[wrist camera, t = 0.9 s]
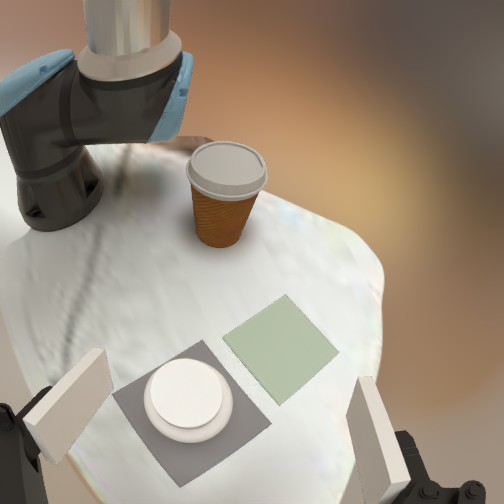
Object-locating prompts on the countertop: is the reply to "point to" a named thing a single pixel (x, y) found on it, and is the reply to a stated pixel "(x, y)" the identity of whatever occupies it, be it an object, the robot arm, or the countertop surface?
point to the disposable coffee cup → (224, 189)
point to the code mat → (193, 454)
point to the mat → (281, 348)
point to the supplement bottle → (188, 400)
